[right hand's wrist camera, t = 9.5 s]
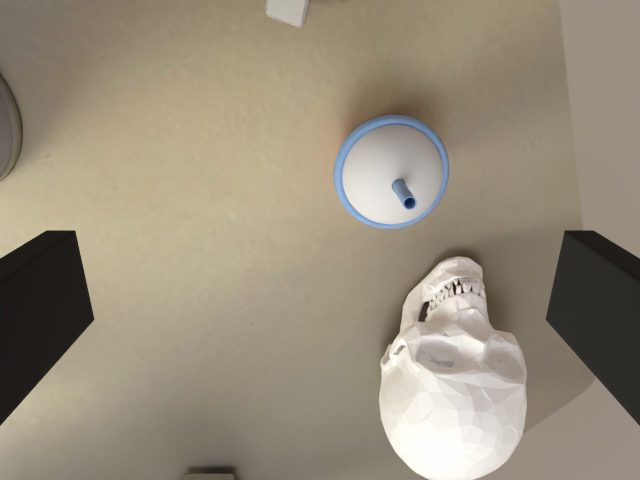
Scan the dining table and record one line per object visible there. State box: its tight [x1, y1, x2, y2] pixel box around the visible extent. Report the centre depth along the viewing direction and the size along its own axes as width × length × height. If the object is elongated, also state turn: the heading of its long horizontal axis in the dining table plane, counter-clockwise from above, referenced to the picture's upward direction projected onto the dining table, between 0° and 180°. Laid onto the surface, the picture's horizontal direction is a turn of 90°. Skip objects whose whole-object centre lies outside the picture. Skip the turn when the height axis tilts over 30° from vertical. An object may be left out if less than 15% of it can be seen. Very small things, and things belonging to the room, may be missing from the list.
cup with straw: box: [334, 115, 449, 229], centre depth 36 cm, size 9×9×18 cm
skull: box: [379, 256, 527, 480], centre depth 45 cm, size 13×22×16 cm, turn 176°
